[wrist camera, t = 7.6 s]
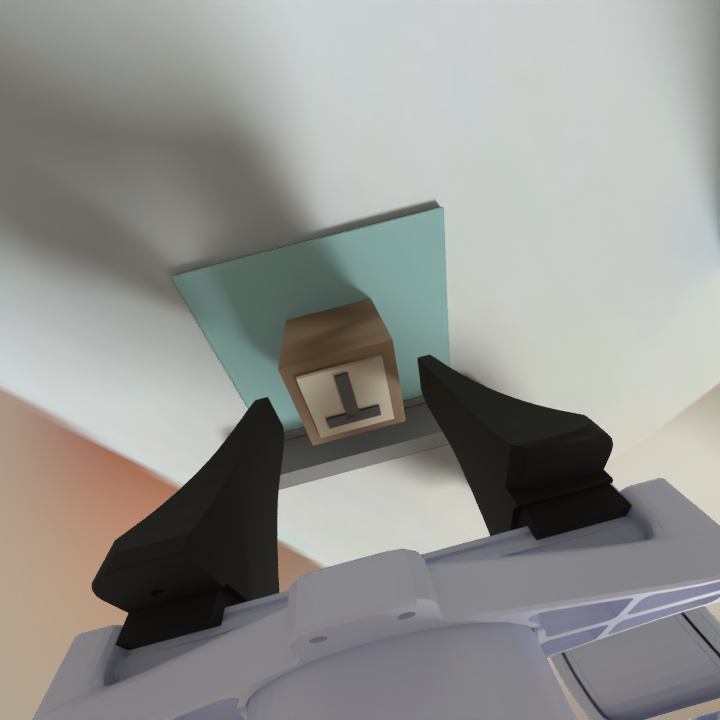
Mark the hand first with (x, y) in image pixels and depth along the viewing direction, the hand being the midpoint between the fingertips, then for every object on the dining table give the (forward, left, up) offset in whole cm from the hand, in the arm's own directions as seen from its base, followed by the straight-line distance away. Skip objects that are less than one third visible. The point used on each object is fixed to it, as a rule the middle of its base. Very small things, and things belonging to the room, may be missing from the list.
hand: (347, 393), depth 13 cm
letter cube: (0, 0, -5) cm, 5 cm away
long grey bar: (-1, +8, -5) cm, 10 cm away
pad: (0, 0, -5) cm, 5 cm away
